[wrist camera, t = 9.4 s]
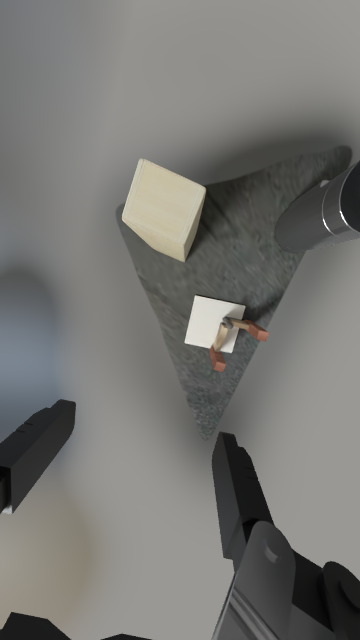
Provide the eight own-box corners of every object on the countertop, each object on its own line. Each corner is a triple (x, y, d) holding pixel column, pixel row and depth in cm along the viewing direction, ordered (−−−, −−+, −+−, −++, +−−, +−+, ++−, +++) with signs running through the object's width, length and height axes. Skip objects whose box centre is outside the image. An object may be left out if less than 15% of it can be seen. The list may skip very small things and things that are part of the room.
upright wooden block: (198, 230, 40) (210, 180, 19) (185, 263, 41) (183, 248, 21) (165, 215, 39) (140, 148, 19) (153, 248, 41) (118, 219, 21)
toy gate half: (219, 322, 43) (227, 334, 35) (226, 325, 43) (236, 337, 35) (209, 351, 45) (214, 369, 36) (215, 353, 45) (222, 372, 36)
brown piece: (223, 314, 44) (232, 324, 34) (251, 320, 44) (268, 332, 34) (221, 321, 44) (230, 333, 35) (248, 327, 44) (265, 341, 35)
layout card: (195, 295, 43) (195, 295, 42) (245, 306, 43) (245, 306, 43) (184, 342, 46) (184, 343, 45) (231, 352, 46) (231, 353, 45)
